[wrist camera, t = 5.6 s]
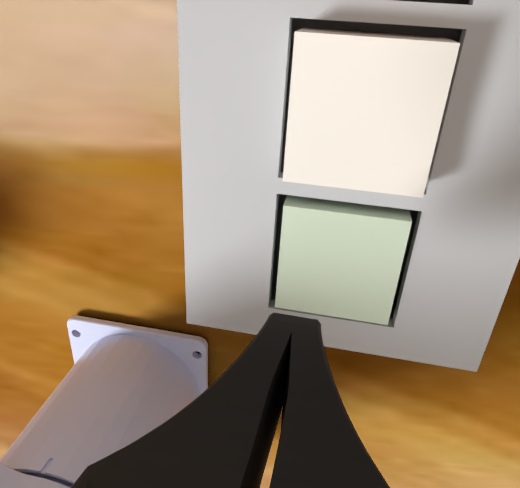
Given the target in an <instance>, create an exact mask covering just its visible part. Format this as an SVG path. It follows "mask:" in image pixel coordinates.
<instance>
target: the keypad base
mask: <svg viewBox="0 0 520 488" xmlns="http://www.w3.org/2000/svg"><path fill="white" fill-rule="evenodd" d="M177 22H178V55H179V88H180V120H181V153H182V186H183V218H184V251H185V284H186V316H187V323H188V324H194V325H200V326H206V327H212V328H218V329H224V330H230V331H236V332H242V333H248V334H254V335H257V334H258V332H259V331H260V330H261V328H262V327H263V325H264V324H265V322H266V321H267V319H268V317H269V315H270V314H272V313H280V314H286V315H292V316H298V317H304V318H310V319H317V320H318V321H319V322H320V323H321V333H322V340H323V345H324V346H325V347H331V348H337V349H343V350H349V351H355V352H361V353H367V354H373V355H379V356H385V357H391V358H397V359H403V360H408V361H414V362H420V363H426V364H432V365H438V366H444V367H450V368H456V369H462V370H468V371H474V372H477V370H478V367H479V365H480V362H481V359H482V357H483V354H484V351H485V349H486V346H487V343H488V341H489V338H490V335H491V333H492V330H493V327H494V325H495V322H496V319H497V317H498V314H499V312H500V309H501V306H502V304H503V301H504V298H505V296H506V293H507V290H508V288H509V285H510V282H511V280H512V277H513V274H514V272H515V269H516V266H517V264H518V261H519V258H520V0H177ZM301 28H316V29H330V30H345V31H359V32H374V33H388V34H403V35H417V36H432V37H446V38H449V39H451V40H454V41H456V42H459V43H460V46H459V51H458V55H457V59H456V63H455V67H454V71H453V75H452V80H451V84H450V88H449V92H448V96H447V100H446V104H445V109H444V113H443V117H442V121H441V125H440V129H439V133H438V138H437V142H436V146H435V150H434V154H433V158H432V162H431V167H430V171H429V175H428V179H427V183H426V187H425V191H424V195H423V198H420V197H412V196H403V195H395V194H387V193H378V192H370V191H361V190H353V189H344V188H336V187H327V186H319V185H310V184H302V183H293V182H285V181H283V169H284V157H285V145H286V132H287V120H288V108H289V95H290V83H291V71H292V58H293V46H294V33H295V31H297V30H299V29H301ZM287 195H292V196H300V197H309V198H317V199H325V200H333V201H341V202H350V203H358V204H366V205H374V206H382V207H391V208H399V209H407V210H409V211H410V215H411V219H412V224H411V229H410V233H409V237H408V241H407V246H406V250H405V254H404V258H403V263H402V267H401V271H400V275H399V280H398V284H397V288H396V292H395V296H394V301H393V305H392V309H391V313H390V318H389V322H388V325H384V324H378V323H371V322H365V321H359V320H352V319H346V318H340V317H333V316H327V315H321V314H314V313H308V312H302V311H295V310H289V309H283V308H276V307H275V298H276V286H277V275H278V263H279V251H280V239H281V227H282V215H283V205H284V202H285V200H286V197H287Z"/></svg>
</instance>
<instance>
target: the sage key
mask: <svg viewBox="0 0 520 488" xmlns="http://www.w3.org/2000/svg"><path fill="white" fill-rule="evenodd" d="M411 224H412V219H411V215H410V211H409V210H407V209H399V208H391V207H382V206H374V205H366V204H358V203H350V202H341V201H333V200H325V199H317V198H309V197H300V196H292V195H287V197H286V200H285V202H284V205H283V215H282V227H281V239H280V251H279V263H278V275H277V286H276V298H275V307H276V308H283V309H289V310H295V311H302V312H308V313H314V314H321V315H327V316H333V317H340V318H346V319H352V320H359V321H365V322H371V323H378V324H384V325H388V322H389V318H390V313H391V309H392V305H393V301H394V296H395V292H396V288H397V284H398V280H399V275H400V271H401V267H402V263H403V258H404V254H405V250H406V246H407V241H408V237H409V233H410V229H411Z"/></svg>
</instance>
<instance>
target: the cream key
mask: <svg viewBox="0 0 520 488" xmlns="http://www.w3.org/2000/svg"><path fill="white" fill-rule="evenodd" d="M459 46H460V43H459V42H456V41H454V40H451V39H449V38H446V37H432V36H417V35H403V34H388V33H374V32H359V31H345V30H330V29H316V28H301V29H299V30H297V31H295V33H294V46H293V58H292V71H291V83H290V95H289V108H288V120H287V132H286V145H285V157H284V169H283V181H285V182H293V183H302V184H310V185H319V186H327V187H336V188H344V189H353V190H361V191H370V192H378V193H387V194H395V195H403V196H412V197H420V198H423V195H424V191H425V187H426V183H427V179H428V175H429V171H430V167H431V162H432V158H433V154H434V150H435V146H436V142H437V138H438V133H439V129H440V125H441V121H442V117H443V113H444V109H445V104H446V100H447V96H448V92H449V88H450V84H451V80H452V75H453V71H454V67H455V63H456V59H457V55H458V51H459Z"/></svg>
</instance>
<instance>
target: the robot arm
mask: <svg viewBox="0 0 520 488" xmlns="http://www.w3.org/2000/svg"><path fill="white" fill-rule="evenodd" d="M67 327H68V332H69V338H70V343H71V348H72V353H73V359H74V364H75V365H74V366H73V367H72V369H71V370H70V371H69V372H68V374H67V375H66V376H65V377H64V379H63V380H62V381H61V382H60V384H59V385H58V386H57V388H56V389H55V390H54V391H53V393H52V394H51V395H50V396H49V398H48V399H47V400H46V402H45V403H44V404H43V405H42V407H41V408H40V409H39V410H38V412H37V413H36V414H35V416H34V417H33V418H32V419H31V421H30V422H29V423H28V424H27V426H26V427H25V428H24V430H23V431H22V432H21V433H20V435H19V436H18V437H17V438H16V440H15V441H14V442H13V444H12V445H11V446H10V447H9V449H8V450H7V451H6V452H5V454H4V455H3V456H2V458H1V459H0V488H260V484H261V480H262V476H263V473H264V469H265V466H266V462H267V459H268V455H269V452H270V448H271V445H272V441H273V438H274V434H275V431H276V427H277V424H278V420H279V417H280V413H281V410H282V406H283V410H282V422H281V434H280V439H279V444H278V449H277V454H276V459H275V464H274V469H273V474H272V479H271V483H270V488H390V487H389V486H388V484H387V483H386V481H385V479H384V478H383V476H382V475H381V473H380V471H379V470H378V468H377V467H376V465H375V464H374V462H373V460H372V459H371V457H370V456H369V454H368V452H367V451H366V449H365V447H364V445H363V443H362V442H361V440H360V438H359V436H358V434H357V432H356V430H355V428H354V426H353V424H352V422H351V420H350V418H349V416H348V414H347V412H346V410H345V407H344V405H343V403H342V400H341V398H340V395H339V393H338V390H337V388H336V385H335V382H334V379H333V376H332V373H331V370H330V367H329V364H328V361H327V357H326V353H325V349H324V345H323V340H322V333H321V323H320V322H319V321H318V320H317V319H310V318H304V317H298V316H292V315H286V314H280V313H272V314H270V315H269V317H268V319H267V321H266V322H265V324H264V325H263V327H262V328H261V330H260V331H259V332H258V334H257V335H256V336H255V338H254V339H253V340H252V342H251V343H250V344H249V345H248V347H247V348H246V349H245V350H244V351H243V353H242V354H241V355H240V356H239V357H238V358H237V360H236V361H235V362H234V363H233V364H232V365H231V366H230V367H229V368H228V369H227V370H226V371H225V372H224V373H223V374H222V375H221V376H220V377H219V378H218V379H217V380H216V381H215V382H214V383H213V384H212V385H211V386H210V387H209V388H208V344H207V341H206V340H205V339H204V338H202V337H199V336H194V335H188V334H182V333H177V332H171V331H165V330H159V329H153V328H147V327H142V326H136V325H130V324H124V323H118V322H112V321H107V320H101V319H95V318H89V317H83V316H77V315H74V316H72V317H71V318H70V319H69V320H68V321H67ZM78 331H79V332H78ZM195 351H198V352H200V353H201V354H198V353H196V352H195Z"/></svg>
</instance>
